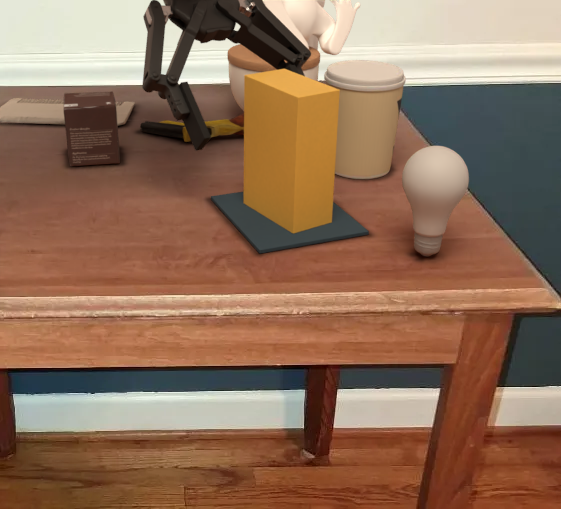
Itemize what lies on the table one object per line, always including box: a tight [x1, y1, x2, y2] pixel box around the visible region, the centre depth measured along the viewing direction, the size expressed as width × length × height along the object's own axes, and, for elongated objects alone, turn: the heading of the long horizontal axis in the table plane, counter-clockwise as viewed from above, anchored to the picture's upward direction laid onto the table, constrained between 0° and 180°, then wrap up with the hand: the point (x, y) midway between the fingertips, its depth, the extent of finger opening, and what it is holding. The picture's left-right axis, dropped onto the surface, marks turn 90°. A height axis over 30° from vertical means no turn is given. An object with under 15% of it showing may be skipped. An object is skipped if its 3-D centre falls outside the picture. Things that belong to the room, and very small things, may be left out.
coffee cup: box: [323, 59, 407, 180], centre depth 100 cm, size 9×9×12 cm
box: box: [63, 91, 121, 167], centre depth 101 cm, size 6×6×7 cm
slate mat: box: [210, 190, 370, 254], centre depth 89 cm, size 12×14×1 cm
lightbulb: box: [401, 145, 470, 257], centre depth 79 cm, size 6×6×11 cm
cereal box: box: [243, 69, 340, 234], centre depth 86 cm, size 5×9×14 cm, turn 36°
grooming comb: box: [0, 97, 136, 126], centre depth 117 cm, size 18×10×1 cm, turn 88°
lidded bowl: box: [227, 43, 321, 112], centre depth 116 cm, size 13×13×11 cm
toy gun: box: [140, 112, 244, 143], centre depth 111 cm, size 4×15×10 cm
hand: (258, 133), depth 89 cm, fingers open, 13 cm apart
